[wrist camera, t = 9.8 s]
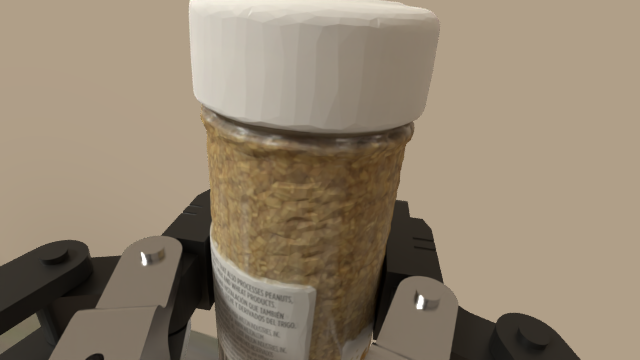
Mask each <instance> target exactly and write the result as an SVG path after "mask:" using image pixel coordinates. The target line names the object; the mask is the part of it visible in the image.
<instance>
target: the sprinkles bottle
mask: <svg viewBox="0 0 640 360" xmlns="http://www.w3.org/2000/svg"><path fill="white" fill-rule="evenodd" d="M189 26H190V49H191V65H192V77H193V90H194V94H195V97H196V98H197V99H198V101H199V102H200V103H202V105H201V110H202V111H201V115H200V116H201V120H202V122H203V123H204V126H205V128H206V130H207V153H208V167H209V180H210V188H211V192H210V199H211V216H212V223H211V228H210V242H211V257H212V271H213V285H214V299H215V311H216V324H217V337H218V349H219V360H365V358H366V355H367V353H368V351H369V348H370V344H371V338H372V332H373V326H374V321H375V311H376V305H377V301H378V296H379V291H380V285H381V279H382V272H383V263H384V256H385V250H386V243H387V239H388V236H389V233H390V229H391V220H392V217H393V210H394V204H395V201H396V197H397V189H398V186H399V182H400V170H401V167H402V162H403V159H404V151H405V146H406V144H407V142H409V141H410V140H411V138H412V135H413V132H414V123H413V121H414V120H416V119H418V118H419V117H420V115H421V114H422V113H423V111H424V108H425V105H426V100H427V95H428V91H429V86H430V82H431V77H432V71H433V66H434V60H435V54H436V48H437V43H438V37H439V31H440V24H439V20H438V18H437V16H436V15H435V14H434V13H433V12H431V11H430V10H427V9H424V8H417V7H411V6H406V5H404V4H402V3H400V2H392V1H380V0H190V4H189Z"/></svg>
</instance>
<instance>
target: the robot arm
mask: <svg viewBox="0 0 640 360" xmlns="http://www.w3.org/2000/svg"><path fill="white" fill-rule="evenodd" d="M210 192H211V189H209V190H207V191H205V192H203V193H201V194H200V195H198V196H197V197H196V198H195V199H194V200H193V201H192V202H191V203H190V206H188V207H187V208H186V209H185V210H184V211H183V213H181V214H180V215H179V216H178V218H177V219H176V220H175V221H174V222H173V223H172V224H171V225H170V226H169V227H168V229H167V230H166V231H165V232H164V233H163V234H162V235H161V236H152V237H147V238H144V239H141V240H139V241H137V242H134V243H133V244H131V245H130V246H129V247H127V249H126V250H125V251H124V252H123V254H122V256H109V257H95V258H94V257H93V258H91V256H90V253H89V249H88V246H87V245H86V244H84V243H83V242H80V241H76V240H63V241H56V242H52V243H49V244H45V245H43V246H40V247H38V248H36V249H34V250H32V251H30V252H28V253H26V254H24V255H22V256H20V257H18V258H17V259H14V260H13V261H10V262H9V263H6V264H4V265H2V266H0V335H2V334H3V333H5V332H6V331H8V330H9V329H11V328H12V327H14V326H16V325H17V324H19V323H20V322H22V321H23V320H25V319H26V318H28V317H30V316H31V315H33V314H34V313H36V315H37V317H38V320H39V322H40V325H41V327H40V328H39V329H37V330H36V331H34V332H33V333H31V334H30V335H28V336H27V337H25V338H24V339H22V340H21V341H20V342H18V343H17V344H15V345H14V346H12V347H11V348H9V349H8V350H6V351H5V352H3V353H2V354H0V360H185V356H186V351H187V346H188V340H189V335H190V330H191V319H190V317H191V316H192V314H193V312H194V310H195V309H196V308H198V309H204V310H210V309H211V307H212V305H213V303H214V302H215V299H214V285H213V271H212V257H211V242H210V228H211V223H212V216H211V199H210ZM373 340H377V341H376V343H374V342H373V343H372V344H371V346H370V348H369V351H368V353H367V355H366V358H365V360H580V358H579V357H578V356H577V355H576V354H575V353H574V352H573V350H572V349H571V348H570V347H569V346H568V345H567V343H565V341H564V340H563V339H562V338H561V336H560V335H559V334H558V333H557V332H556V331H555V330H553V329H552V328H551V327H550V326H548V325H547V324H545V323H544V322H542V321H540V320H538V319H536V318H534V317H531V316H529V315H525V314H520V313H507V314H504V315H502V316H501V317H500V318H499V319H498V320H497V323H494V322H491V321H489V320H486V319H484V318H481V317H479V316H476V315H474V314H472V313H470V312H468V311H466V310H464V309H463V308H461V307H460V306H458V301H457V298H456V296H455V295H454V293H453V292H452V291H451V290H450V289H449V288H448V287H447V286H446V285H444V283H443V278H442V274H441V270H440V266H439V261H438V256H437V252H436V248H435V243H434V239H433V234H432V230H431V228H430V227H429V226H428V225H427V224H426V223H425V221H424V220H423V219H418V218H411V217H410V215H409V208H408V202H407V201H400V200H396V201H395V204H394V210H393V217H392V220H391V229H390V233H389V236H388V239H387V243H386V250H385V256H384V263H383V272H382V279H381V285H380V291H379V296H378V301H377V305H376V311H375V321H374V326H373Z"/></svg>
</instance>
